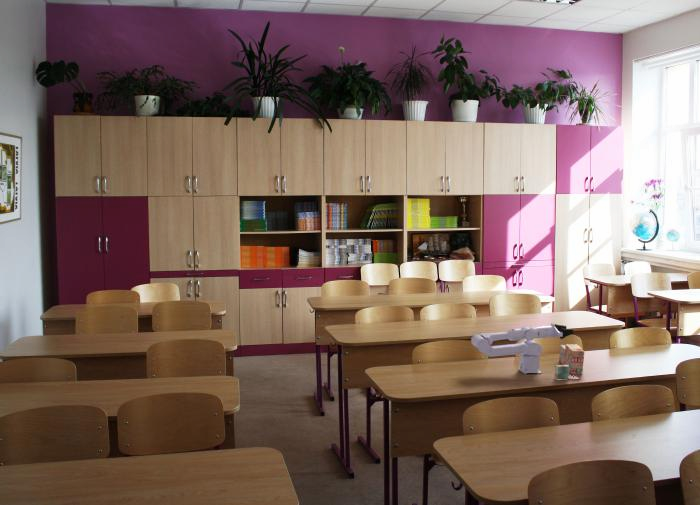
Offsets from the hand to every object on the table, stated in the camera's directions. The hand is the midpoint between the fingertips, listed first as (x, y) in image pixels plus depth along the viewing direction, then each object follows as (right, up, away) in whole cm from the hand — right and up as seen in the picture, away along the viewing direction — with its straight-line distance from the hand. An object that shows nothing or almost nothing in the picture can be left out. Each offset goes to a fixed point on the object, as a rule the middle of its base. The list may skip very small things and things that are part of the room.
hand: (569, 329), depth 358 cm
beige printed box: (+3, -21, +9) cm, 23 cm away
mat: (-1, -23, -7) cm, 24 cm away
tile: (-7, -23, -11) cm, 27 cm away
